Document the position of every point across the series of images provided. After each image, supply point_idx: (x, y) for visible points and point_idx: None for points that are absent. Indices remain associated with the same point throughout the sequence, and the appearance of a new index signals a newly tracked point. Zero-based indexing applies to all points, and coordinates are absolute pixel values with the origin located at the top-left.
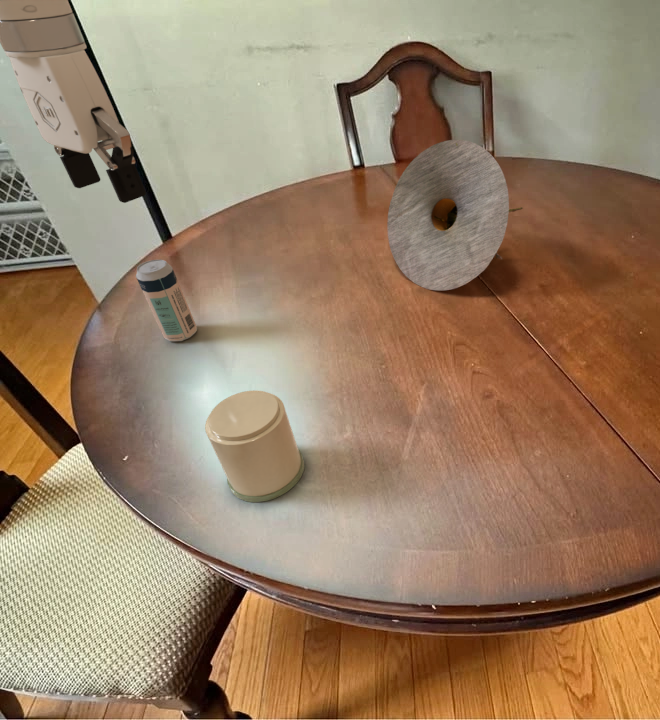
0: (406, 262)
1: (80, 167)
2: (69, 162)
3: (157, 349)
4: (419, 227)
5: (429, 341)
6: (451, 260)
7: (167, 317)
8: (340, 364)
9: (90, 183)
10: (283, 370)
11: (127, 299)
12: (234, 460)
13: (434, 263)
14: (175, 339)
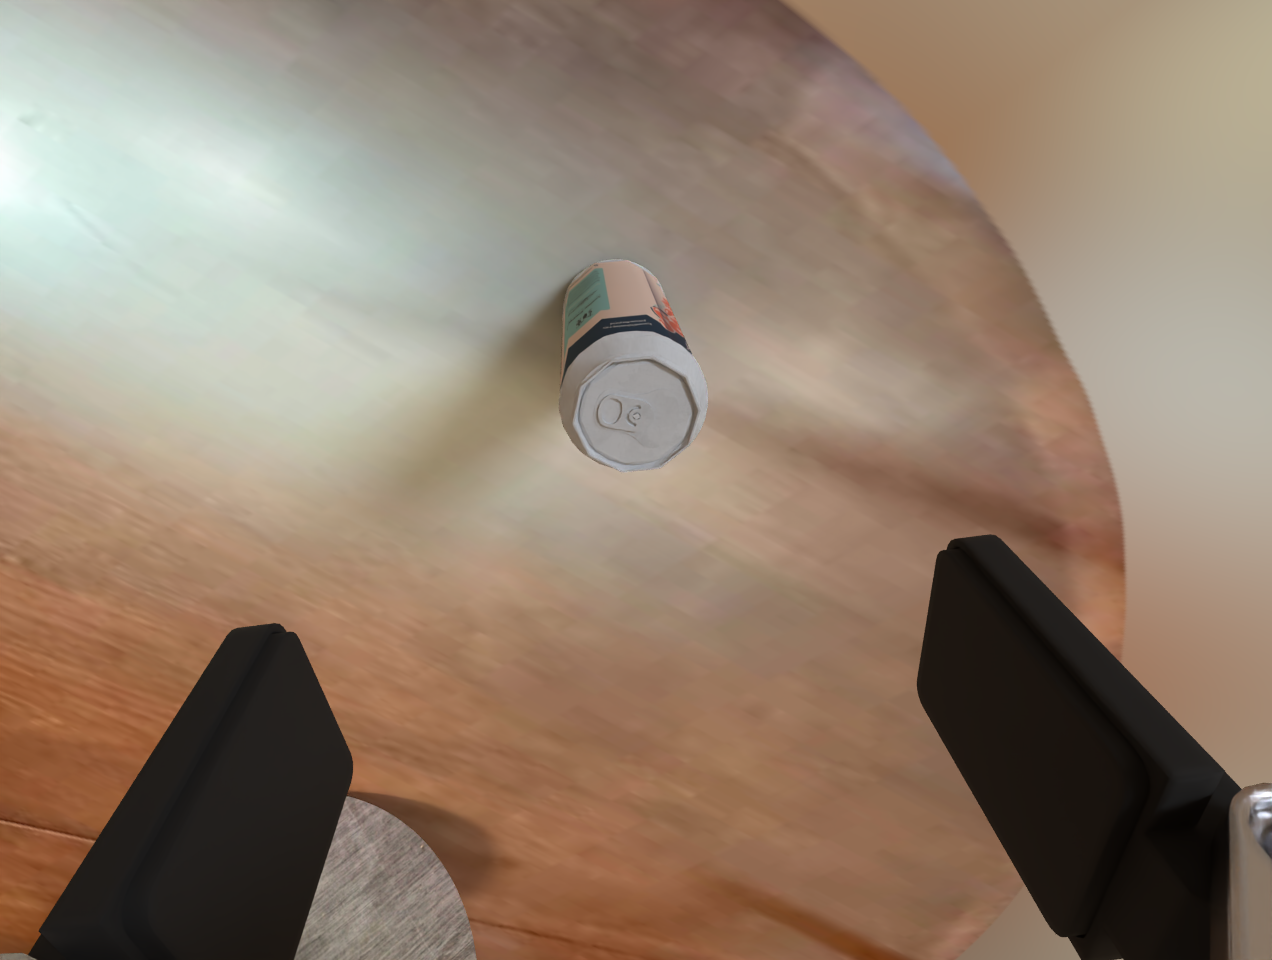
0: (368, 837)
1: (1015, 738)
2: (1085, 749)
3: (603, 212)
4: (344, 957)
5: (49, 677)
6: None
7: (574, 305)
8: (99, 501)
9: (927, 632)
10: (181, 393)
11: (976, 311)
12: None
13: None
14: (579, 277)
